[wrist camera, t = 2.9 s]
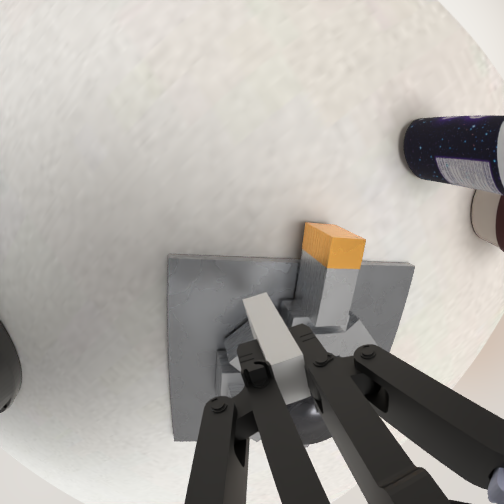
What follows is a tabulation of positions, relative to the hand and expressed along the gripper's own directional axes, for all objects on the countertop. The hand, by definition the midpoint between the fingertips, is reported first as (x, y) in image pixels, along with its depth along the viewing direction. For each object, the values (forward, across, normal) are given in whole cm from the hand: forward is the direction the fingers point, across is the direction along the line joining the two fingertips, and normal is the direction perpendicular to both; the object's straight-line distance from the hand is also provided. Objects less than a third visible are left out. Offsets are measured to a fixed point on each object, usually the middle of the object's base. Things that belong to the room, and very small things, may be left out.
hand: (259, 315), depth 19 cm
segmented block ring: (+5, +3, -6) cm, 9 cm away
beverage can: (+6, +19, +7) cm, 21 cm away
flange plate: (+6, +3, -8) cm, 11 cm away
